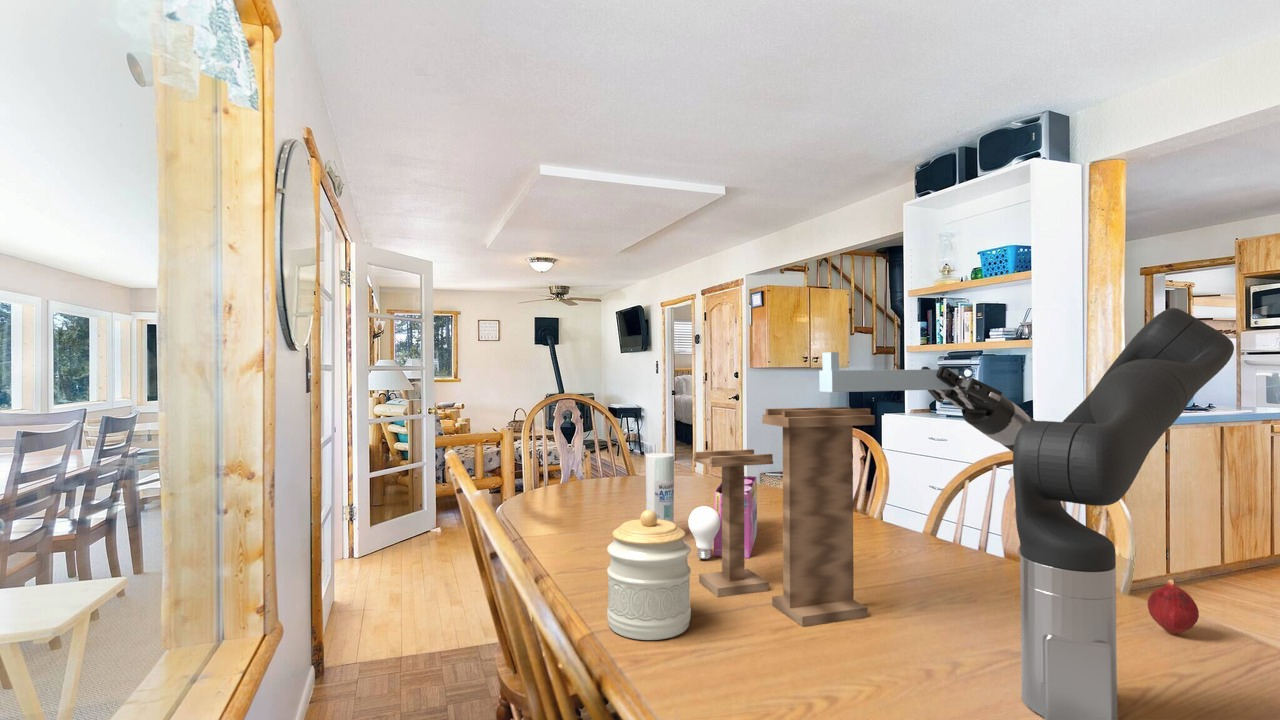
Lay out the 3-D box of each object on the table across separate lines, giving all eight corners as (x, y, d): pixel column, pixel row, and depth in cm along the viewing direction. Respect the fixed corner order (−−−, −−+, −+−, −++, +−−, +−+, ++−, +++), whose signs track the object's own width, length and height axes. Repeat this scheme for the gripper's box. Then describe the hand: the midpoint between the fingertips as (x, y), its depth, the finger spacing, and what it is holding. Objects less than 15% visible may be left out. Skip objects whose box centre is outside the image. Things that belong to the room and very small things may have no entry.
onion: (1208, 644, 90) (1208, 588, 90) (1162, 640, 91) (1162, 585, 92) (1182, 627, 96) (1182, 575, 96) (1139, 624, 97) (1139, 572, 97)
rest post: (752, 576, 120) (751, 449, 121) (773, 590, 113) (773, 454, 113) (694, 582, 116) (693, 451, 117) (712, 597, 109) (712, 457, 109)
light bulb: (682, 561, 129) (682, 507, 130) (696, 553, 135) (696, 501, 135) (712, 566, 126) (712, 511, 126) (725, 557, 132) (725, 505, 132)
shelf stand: (843, 596, 110) (842, 406, 110) (878, 615, 101) (876, 409, 102) (761, 607, 105) (760, 408, 105) (791, 628, 96) (790, 411, 96)
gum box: (750, 561, 130) (749, 495, 130) (711, 558, 132) (711, 493, 132) (757, 532, 153) (757, 476, 153) (725, 530, 155) (724, 474, 155)
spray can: (661, 537, 148) (660, 451, 149) (680, 542, 143) (679, 454, 144) (639, 541, 144) (639, 454, 144) (658, 548, 139) (658, 457, 139)
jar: (617, 647, 90) (617, 522, 90) (599, 613, 102) (599, 504, 102) (703, 636, 93) (703, 516, 93) (675, 604, 106) (675, 499, 106)
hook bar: (943, 388, 114) (942, 352, 114) (958, 389, 110) (957, 352, 111) (819, 391, 106) (819, 352, 106) (832, 392, 102) (831, 352, 102)
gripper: (972, 397, 123) (909, 353, 118) (1039, 400, 109) (971, 351, 105) (958, 431, 121) (893, 388, 117) (1023, 439, 108) (954, 390, 103)
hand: (930, 371), depth 111 cm, fingers closed on hook bar, 3 cm apart
